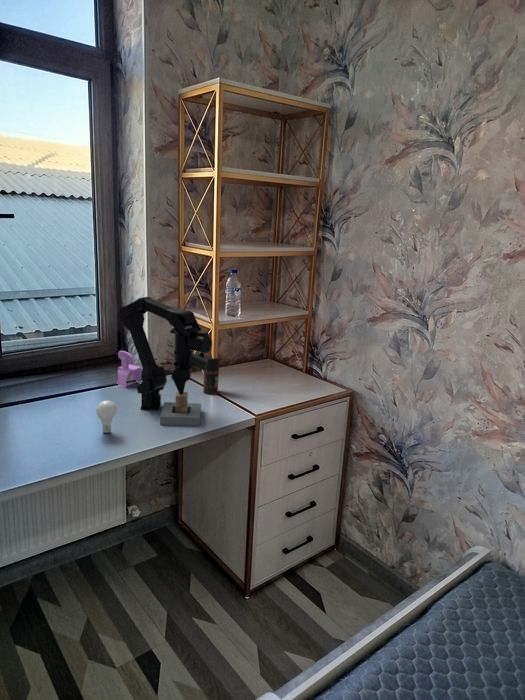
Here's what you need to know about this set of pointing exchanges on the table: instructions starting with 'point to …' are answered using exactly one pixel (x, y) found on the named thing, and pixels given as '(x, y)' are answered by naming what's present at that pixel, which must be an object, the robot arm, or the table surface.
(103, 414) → the lightbulb
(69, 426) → the table surface
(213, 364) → the deodorant
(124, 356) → the toy chair
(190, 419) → the socket block
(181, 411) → the peg
